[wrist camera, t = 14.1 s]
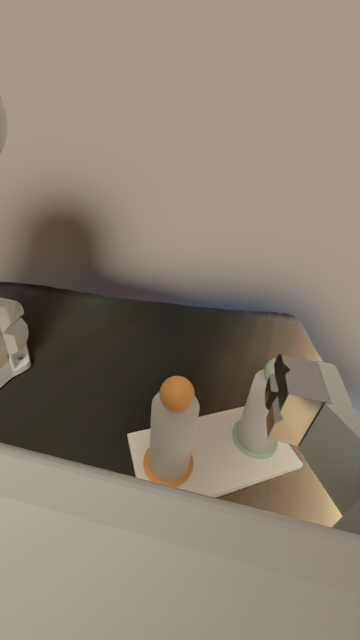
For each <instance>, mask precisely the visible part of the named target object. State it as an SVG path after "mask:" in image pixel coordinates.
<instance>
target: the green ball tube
mask: <svg viewBox="0 0 360 640" xmlns="http://www.w3.org/2000/svg"><path fill="white" fill-rule="evenodd" d="M275 360H276V358H273V359H271V360H270V361H268V362H267V364H266V365H265V368H264V369H263V370H260V371H258V372H257V373H256V375H255V377H254V380H253V383H252V386H251V389H250V392H249V395H248V398H247V401H246V404H245V407H244V410H243V413H242V416H241V420H240V423H239V426H238V429H237V438H238V441H239V442H240V444H241V445H242V446H243V447H244V448H245V449H246V450H248V451H250V452H252V453H255V454H264V453H267V452H269V451H270V450H271V448H272V446H273V444H274V442H275V440H271V439H268V437H267V425H266V417H267V415H268V412H269V410H268V409H267V408H266V407H265V389H266V384H267V381H268V378H269V375H271V374H273V373H274V372H275V370H274V363H275Z"/></svg>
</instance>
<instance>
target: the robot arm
mask: <svg viewBox="0 0 360 640" xmlns="http://www.w3.org/2000/svg"><path fill="white" fill-rule="evenodd" d="M6 136H7V120H6V113H5V109H4V106H3V102H2V100H1V97H0V154H1V152H2V150H3V148H4V145H5V142H6ZM23 315H24V310H23V307H22V304H20V303H19V302H17V301H14V300H9V299H5V298H0V388H1V387H2V386H3V385H4V384H5V383H6V382H7V381H9V380H10V379H11V378H12V377H14V376H16V375H18V374H20V373H22V372H24V371H25V370H27V369H28V368H30V366H31V360H30V356H29V351H28V346H27V342H26V341H27V339H28V332H29V331H28V326H27V324H26V323H25V322H24V320H23V319H22V316H23ZM274 370H275V372H274V373H273V374H271V375H269V378H268V381H267V384H266V389H265V407H266V408H267V409H268V410H269V412H268V415H267V417H266V425H267V437H268V439H271V440H275V441H279V442H283V443H287V444H290V445H294V446H298V447H299V450H300V451H301V453H302V455H303V456H304V458H305V459H306V461H307V462H308V464H309V465H310V467H311V468H312V470H313V471H314V473H315V474H316V476H317V477H318V479H319V481H320V482H321V484H322V485H323V487H324V488H325V490H326V491H327V493H328V494H329V496H330V497H331V499H332V500H333V502H334V503H335V505H336V507H337V508H338V510H339V511H340V513H341V514H342V516H343V517H342V518H341V519H340V520H339V521H338V522H337V523H336V524H335V525H334V526H333V527H332V528H331V527H328V526H324V525H320V524H316V523H312V522H308V521H304V520H300V519H296V518H292V517H289V516H285V515H281V514H277V513H273V512H269V511H265V510H261V509H257V508H253V507H250V506H246V505H242V504H238V503H234V502H230V501H226V500H222V499H218V498H214V497H211V496H207V495H203V494H199V493H195V492H191V491H187V490H183V489H179V488H175V487H172V486H168V485H164V484H160V483H156V482H152V481H148V480H144V479H140V478H136V477H132V476H129V475H125V474H121V473H117V472H113V471H109V470H105V469H101V468H97V467H93V466H90V465H86V464H82V463H78V462H74V461H70V460H66V459H62V458H58V457H54V456H50V455H47V454H43V453H39V452H35V451H31V450H27V449H23V448H19V447H15V446H11V445H7V444H4V443H0V640H360V410H356V409H353V407H352V404H351V402H350V399H349V397H348V394H347V392H346V390H345V387H344V385H343V382H342V380H341V377H340V375H339V372H338V370H337V367H336V366H335V365H334V364H331V363H325V362H320V361H311V360H306V359H301V358H296V357H291V356H285V355H280V354H279V355H278V357H277V358H276V360H275V363H274Z"/></svg>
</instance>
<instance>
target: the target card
mask: <svg viewBox="0 0 360 640" xmlns="http://www.w3.org/2000/svg"><path fill="white" fill-rule="evenodd" d="M244 407H245V406H243V407H239V408H235V409H231V410H226V411H222V412H218V413H214V414H209V415H205V416H201V417H198V420H197V426H196V431H195V436H194V441H193V447H192V452H191V457H190V462H189V467H188V470H187V472H186V474H185V475H184V476H183V477H182V478H181V479H179V480H177V481H174V482H165V481H162V480H159V479H158V478H156V477H155V476H154V475H153V473H152V472H151V470H150V467H149V447H150V429H146V430H142V431H137V432H133V433H129V434H127V437H128V442H129V447H130V452H131V457H132V461H133V466H134V471H135V476H136V478H140V479H144V480H148V481H152V482H156V483H160V484H164V485H168V486H172V487H175V488H179V489H183V490H187V491H191V492H195V493H199V494H203V495H207V496H211V497H214V498H216V497H219V496H222V495H225V494H228V493H231V492H234V491H237V490H240V489H242V488H245V487H248V486H251V485H254V484H257V483H260V482H263V481H266V480H269V479H272V478H274V477H277V476H280V475H283V474H286V473H289V472H292V471H295V470H298V469H301V468H302V466H303V464H302V462H301V461H300V459H299V458H298V457H297V455H296V454H295V452H294V451H293V449H292V448H291V447H290V445H289V444H287V443H283V442H279V441H275V442H274V444H273V446H272V448H271V450H270V451H269V452H267V453H264V454H255V453H252V452H250V451H248V450H246V449H245V448H244V447H243V446H242V445H241V444H240V442H239V441H238V438H237V429H238V426H239V423H240V420H241V416H242V413H243V410H244Z"/></svg>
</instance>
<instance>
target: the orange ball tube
mask: <svg viewBox="0 0 360 640" xmlns="http://www.w3.org/2000/svg"><path fill="white" fill-rule="evenodd" d="M199 409H200V406H199V402H198V400H197V398H196V397H195V391H194V387H193V385H192V383H191V382H190V381H189V380H188V379H186V378H185V377H182V376H172V377H170V378H168V379H166V380H165V381H164V382H163V384H162V386H161V388H160V392H158V393H157V394H156V395H155V397H154V398H153V400H152V407H151V427H150V447H149V467H150V470H151V472H152V473H153V475H154V476H155V477H156V478H158V479H159V480H162V481H165V482H174V481H177V480H179V479H181V478H182V477H183V476H184V475H185V474H186V472H187V470H188V467H189V462H190V457H191V452H192V447H193V441H194V436H195V431H196V426H197V420H198V415H199Z"/></svg>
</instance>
